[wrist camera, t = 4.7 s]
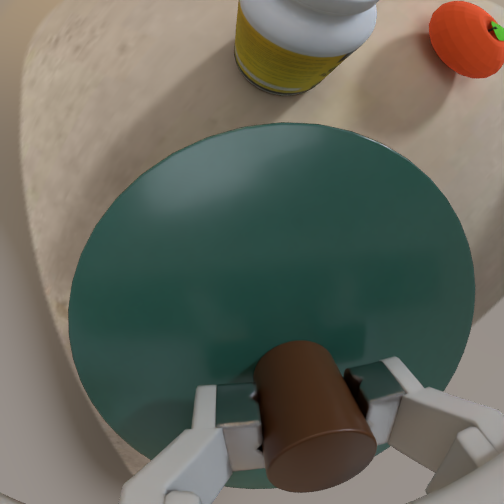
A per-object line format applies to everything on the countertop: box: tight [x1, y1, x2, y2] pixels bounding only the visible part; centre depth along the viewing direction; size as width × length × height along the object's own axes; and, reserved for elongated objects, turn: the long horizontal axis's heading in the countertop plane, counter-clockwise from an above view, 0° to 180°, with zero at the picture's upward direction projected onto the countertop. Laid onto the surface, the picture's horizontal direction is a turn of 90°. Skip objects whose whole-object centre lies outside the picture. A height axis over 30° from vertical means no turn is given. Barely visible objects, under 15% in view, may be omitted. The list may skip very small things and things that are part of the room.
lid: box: [68, 122, 475, 493], centre depth 7 cm, size 14×14×5 cm
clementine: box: [429, 1, 504, 78], centre depth 15 cm, size 8×7×7 cm
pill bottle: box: [234, 0, 379, 95], centre depth 12 cm, size 6×6×12 cm
